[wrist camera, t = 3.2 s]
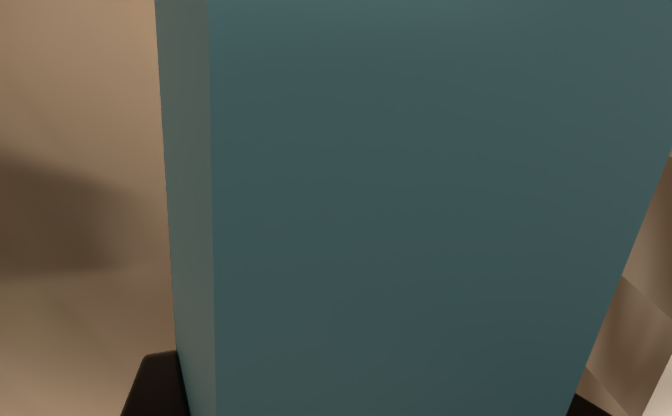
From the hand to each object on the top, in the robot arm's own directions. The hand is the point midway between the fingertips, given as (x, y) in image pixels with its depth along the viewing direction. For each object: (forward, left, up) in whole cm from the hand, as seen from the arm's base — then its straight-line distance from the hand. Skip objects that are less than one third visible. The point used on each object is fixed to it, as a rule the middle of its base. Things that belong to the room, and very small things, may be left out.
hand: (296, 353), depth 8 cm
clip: (0, 0, -4) cm, 4 cm away
